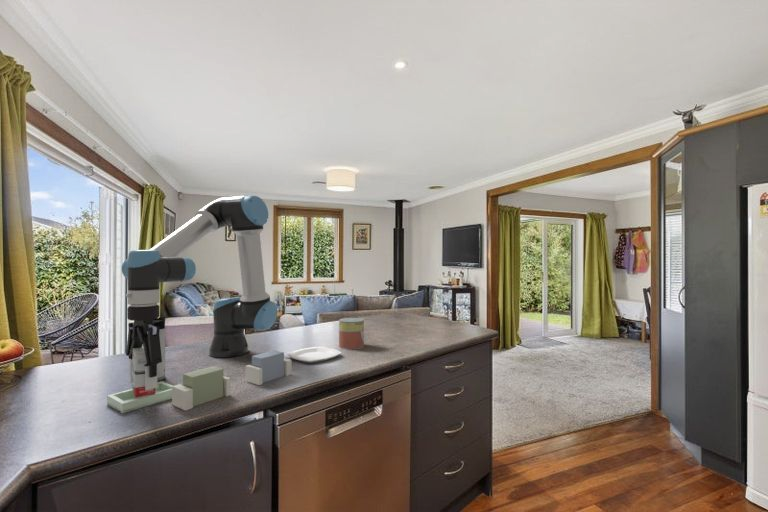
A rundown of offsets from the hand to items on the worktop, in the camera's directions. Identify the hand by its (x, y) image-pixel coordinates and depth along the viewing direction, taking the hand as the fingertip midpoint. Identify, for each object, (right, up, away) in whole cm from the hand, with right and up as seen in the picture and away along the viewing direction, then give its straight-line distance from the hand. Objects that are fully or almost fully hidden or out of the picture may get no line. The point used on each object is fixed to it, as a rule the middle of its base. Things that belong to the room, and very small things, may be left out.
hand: (143, 384), depth 103 cm
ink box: (0, -2, 0) cm, 2 cm away
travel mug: (-8, -5, +18) cm, 20 cm away
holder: (+23, -4, +10) cm, 25 cm away
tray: (0, -4, 0) cm, 4 cm away
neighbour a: (+17, -5, +1) cm, 17 cm away
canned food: (+53, -5, +62) cm, 82 cm away
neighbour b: (+29, -5, +19) cm, 35 cm away
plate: (+40, -5, +45) cm, 60 cm away
